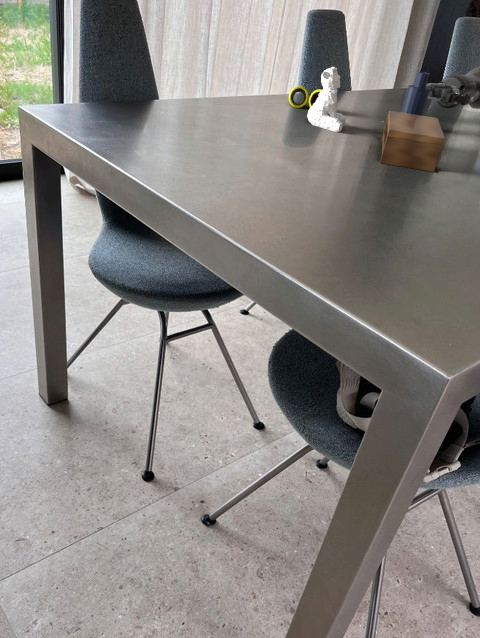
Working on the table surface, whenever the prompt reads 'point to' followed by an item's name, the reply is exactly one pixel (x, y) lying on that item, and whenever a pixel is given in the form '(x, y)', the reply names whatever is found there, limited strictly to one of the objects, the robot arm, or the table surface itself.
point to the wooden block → (412, 141)
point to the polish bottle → (416, 95)
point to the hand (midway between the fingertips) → (430, 95)
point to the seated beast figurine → (327, 103)
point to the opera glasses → (310, 99)
